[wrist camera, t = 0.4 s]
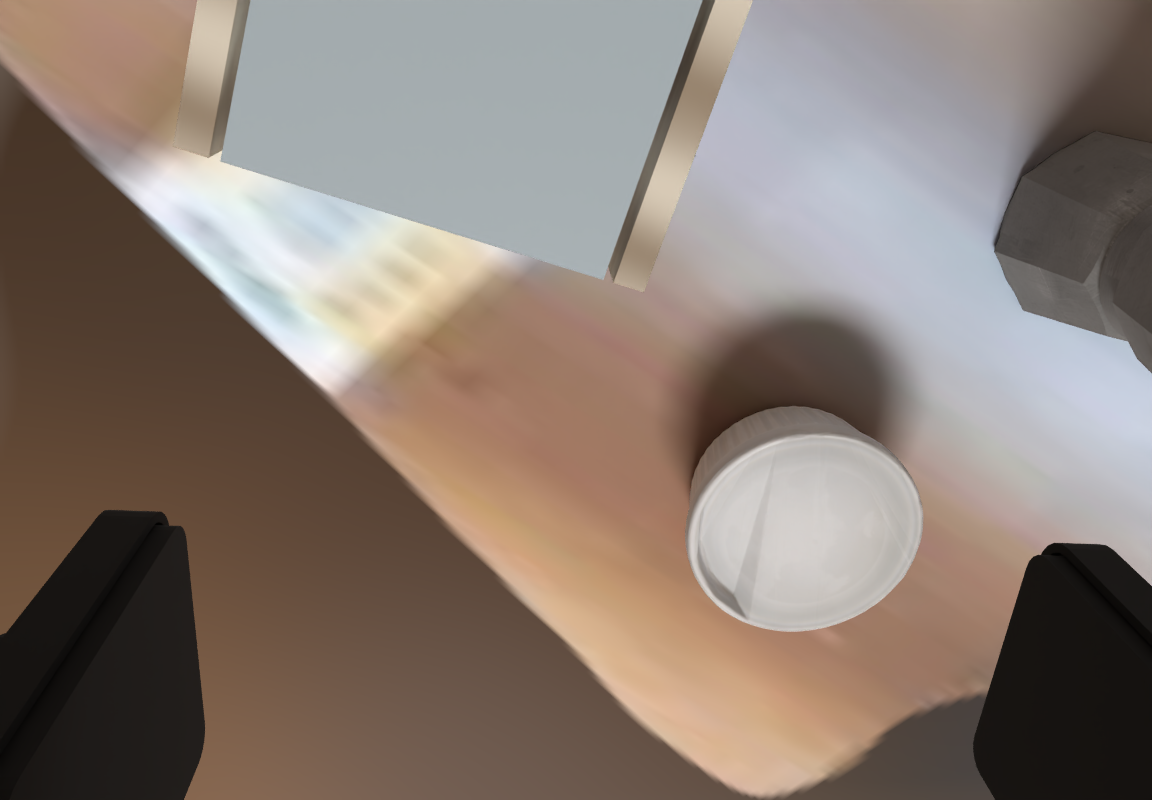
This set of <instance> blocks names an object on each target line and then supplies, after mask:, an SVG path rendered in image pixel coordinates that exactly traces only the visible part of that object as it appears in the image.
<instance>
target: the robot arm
mask: <svg viewBox="0 0 1152 800" xmlns="http://www.w3.org/2000/svg"><path fill="white" fill-rule="evenodd" d="M194 621H195V620H194V611H193V601H192V591H191V581H190V571H189V561H188V551H187V541H186V536H185V532H184V529H183V528H182V527H181V526H169V523H168V520H167V518H166V516H165V514H163V513H162V512H154V511H153V512H152V511H151V512H150V511H124V510H105V511H103V512H102V513H101V514H100V515H99V516H98V517H97V518H96V519H95V521H94V522H93V524H92V525H91V526H90V527H89V529H88V530H87V531H86V532H85V533H84V535H83V536H82V537H81V539H80V540H79V541H78V542H77V544H76V545H75V546H74V548H73V549H72V550H71V551H70V553H69V554H68V555H67V557H66V558H65V559H64V560H63V561H62V563H61V564H60V565H59V567H58V568H57V569H56V570H55V572H54V573H53V574H52V575H51V577H50V578H49V579H48V581H47V582H46V583H45V584H44V586H43V587H42V588H41V590H40V591H39V592H38V594H37V595H36V596H35V597H34V598H33V600H32V601H31V602H30V604H29V605H28V606H27V607H26V609H25V610H24V611H23V613H22V614H21V615H20V616H19V617H18V619H17V620H16V621H15V623H14V624H13V625H12V626H11V628H10V629H9V630H8V631H7V633H5V634H2V635H0V800H184V798H185V796H186V793H187V791H188V788H189V786H190V783H191V780H192V778H193V776H194V773H195V771H196V768H197V766H198V764H199V761H200V758H201V754H202V750H203V744H204V737H205V720H204V710H203V700H202V691H201V680H200V670H199V660H198V650H197V640H196V630H195V622H194ZM973 745H974V746H973V750H974V758H975V762H976V766H977V768H978V771H979V773H980V775H981V776H982V778H983V780H984V781H985V783H986V785H987V787H988V788H989V790H990V791H991V793H992V795H993V797H994V798H995V800H1152V586H1151V585H1150V584H1149V583H1148V582H1147V581H1146V580H1145V579H1144V578H1142V577H1141V576H1140V575H1139V574H1138V573H1137V572H1136V571H1135V570H1134V569H1133V568H1132V567H1131V566H1130V565H1129V564H1128V563H1127V562H1126V561H1124V560H1123V559H1122V558H1121V557H1120V556H1119V555H1118V554H1117V553H1116V552H1115V551H1114V550H1112V549H1111V548H1109V547H1108V546H1106V545H1100V544H1073V543H1053V544H1051V545H1048V546H1047V547H1046V548H1045V549H1044V551H1043V552H1042V554H1041V555H1037V556H1034V557H1033V558H1032V559H1031V560H1030V561H1029V563H1028V565H1027V568H1026V571H1025V574H1024V577H1023V581H1022V584H1021V587H1020V590H1019V594H1018V597H1017V600H1016V603H1015V607H1014V610H1013V613H1012V616H1011V620H1010V623H1009V626H1008V629H1007V633H1006V636H1005V639H1004V642H1003V645H1002V649H1001V652H1000V655H999V658H998V662H997V665H996V668H995V671H994V675H993V678H992V681H991V684H990V688H989V691H988V694H987V697H986V701H985V704H984V707H983V710H982V714H981V717H980V720H979V723H978V727H977V730H976V733H975V737H974V742H973Z"/></svg>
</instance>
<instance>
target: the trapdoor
mask: <svg viewBox="0 0 1152 800" xmlns="http://www.w3.org/2000/svg"><path fill="white" fill-rule="evenodd" d="M702 1H703V0H250V5H249V11H248V16H247V21H246V27H245V32H244V38H243V43H242V48H241V54H240V59H239V64H238V70H237V75H236V81H235V86H234V91H233V97H232V102H231V107H230V113H229V118H228V123H227V129H226V134H225V140H224V145H223V150H222V156H221V162H224V163H227V164H230V165H234V166H237V167H240V168H243V169H246V170H250V171H253V172H256V173H259V174H263V175H266V176H269V177H272V178H276V179H279V180H282V181H285V182H289V183H292V184H295V185H298V186H301V187H305V188H308V189H311V190H314V191H318V192H321V193H324V194H327V195H331V196H334V197H337V198H340V199H343V200H347V201H350V202H353V203H356V204H360V205H363V206H366V207H369V208H373V209H376V210H379V211H382V212H386V213H389V214H392V215H395V216H398V217H402V218H405V219H408V220H411V221H415V222H418V223H421V224H424V225H428V226H431V227H434V228H437V229H440V230H444V231H447V232H450V233H453V234H457V235H460V236H463V237H466V238H470V239H473V240H476V241H479V242H483V243H486V244H489V245H492V246H495V247H499V248H502V249H505V250H508V251H512V252H515V253H518V254H521V255H525V256H528V257H531V258H534V259H537V260H541V261H544V262H547V263H550V264H554V265H557V266H560V267H563V268H567V269H570V270H573V271H576V272H580V273H583V274H586V275H589V276H592V277H596V278H599V279H602V280H603V279H604V276H605V274H606V271H607V268H608V265H609V262H610V260H611V257H612V254H613V251H614V248H615V246H616V243H617V240H618V237H619V234H620V231H621V229H622V226H623V223H624V220H625V217H626V215H627V212H628V209H629V206H630V203H631V201H632V198H633V195H634V192H635V189H636V186H637V184H638V181H639V178H640V175H641V172H642V170H643V167H644V164H645V161H646V158H647V156H648V153H649V150H650V147H651V144H652V141H653V139H654V136H655V133H656V130H657V127H658V125H659V122H660V119H661V116H662V113H663V110H664V108H665V105H666V102H667V99H668V96H669V94H670V91H671V88H672V85H673V82H674V80H675V77H676V74H677V71H678V68H679V65H680V63H681V60H682V57H683V54H684V51H685V49H686V46H687V43H688V40H689V37H690V35H691V32H692V29H693V26H694V23H695V20H696V18H697V15H698V12H699V9H700V6H701V4H702Z"/></svg>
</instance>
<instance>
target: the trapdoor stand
mask: <svg viewBox="0 0 1152 800" xmlns="http://www.w3.org/2000/svg"><path fill="white" fill-rule="evenodd" d="M752 2H753V0H703V1H702V4H701V6H700V9H699V12H698V15H697V18H696V20H695V23H694V26H693V29H692V32H691V35H690V37H689V40H688V43H687V46H686V49H685V51H684V54H683V57H682V60H681V63H680V65H679V68H678V71H677V74H676V77H675V80H674V82H673V85H672V88H671V91H670V94H669V96H668V99H667V102H666V105H665V108H664V110H663V113H662V116H661V119H660V122H659V125H658V127H657V130H656V133H655V136H654V139H653V141H652V144H651V147H650V150H649V153H648V156H647V158H646V161H645V164H644V167H643V170H642V172H641V175H640V178H639V181H638V184H637V186H636V189H635V192H634V195H633V198H632V201H631V203H630V206H629V209H628V212H627V215H626V217H625V220H624V223H623V226H622V229H621V231H620V234H619V237H618V240H617V243H616V246H615V248H614V251H613V254H612V257H611V260H610V262H609V265H608V267H609V271H610V274H611V277H612V280H613V283H615V284H618V285H622V286H625V287H628V288H631V289H634V290H638V291H641V292H644V290H645V287H646V285H647V282H648V279H649V277H650V274H651V271H652V269H653V266H654V263H655V261H656V258H657V255H658V253H659V250H660V247H661V245H662V242H663V239H664V237H665V234H666V231H667V229H668V226H669V223H670V221H671V218H672V215H673V213H674V210H675V207H676V205H677V202H678V199H679V197H680V194H681V191H682V189H683V186H684V183H685V181H686V178H687V175H688V173H689V170H690V167H691V165H692V162H693V159H694V157H695V154H696V151H697V149H698V146H699V143H700V140H701V138H702V135H703V132H704V130H705V127H706V124H707V122H708V119H709V116H710V114H711V111H712V108H713V106H714V103H715V100H716V98H717V95H718V92H719V90H720V87H721V84H722V82H723V79H724V76H725V74H726V71H727V68H728V66H729V63H730V60H731V58H732V55H733V52H734V50H735V47H736V44H737V42H738V39H739V36H740V34H741V31H742V28H743V26H744V23H745V20H746V18H747V15H748V12H749V10H750V7H751V4H752ZM249 5H250V0H197V5H196V11H195V17H194V23H193V29H192V35H191V41H190V47H189V53H188V59H187V65H186V71H185V77H184V83H183V89H182V95H181V101H180V107H179V113H178V119H177V125H176V131H175V137H174V143H173V147H175V148H179V149H182V150H185V151H188V152H192V153H195V154H198V155H201V156H204V157H208V158H209V157H211V156H213V155H214V154H216V153H218V152H220V151H221V150H223V145H224V140H225V134H226V129H227V123H228V118H229V113H230V107H231V102H232V97H233V91H234V86H235V81H236V75H237V70H238V64H239V59H240V54H241V48H242V43H243V38H244V32H245V27H246V21H247V16H248V11H249Z"/></svg>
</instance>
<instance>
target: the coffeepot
mask: <svg viewBox="0 0 1152 800" xmlns="http://www.w3.org/2000/svg"><path fill="white" fill-rule="evenodd" d="M994 252H995V254H996V256H997V258H998V260H999V262H1000V264H1001V267H1002V270H1003V272H1004V275H1005V278H1006V280H1007V282H1008V283H1009V285H1010V286H1011V288H1012V289H1013V291H1014V293H1015V295H1016V297H1017V299H1018V301H1019V303H1020V305H1021V307H1022V309H1023V311H1027V312H1030V313H1033V314H1036V315H1040V316H1043V317H1046V318H1050V319H1053V320H1056V321H1059V322H1063V323H1066V324H1069V325H1072V326H1076V327H1079V328H1082V329H1085V330H1089V331H1092V332H1095V333H1098V334H1102V335H1105V336H1109V337H1113V338H1116V339H1120V340H1124V341H1128V342H1129V344H1130V346H1131V348H1132V350H1133V352H1134V354H1135V355H1136V357H1137V359H1138V360H1139V361H1140V362H1141V363H1142V364H1143V365H1144V366H1145V367H1146V368H1147V369H1148V370H1149V371H1150V372H1151V373H1152V143H1149V142H1144V141H1139V140H1135V139H1130V138H1125V137H1120V136H1116V135H1111V134H1106V133H1102V132H1097V131H1094V132H1093V133H1091V134H1089V135H1087V136H1086V137H1084V138H1082V139H1080V140H1078V141H1077V142H1075V143H1073V144H1071V145H1069V146H1067V147H1065V148H1063V149H1062V150H1060V151H1058V152H1056V153H1054V154H1053V155H1051V156H1050V157H1049V158H1047V159H1046V160H1045V161H1043V162H1042V163H1041V164H1039V165H1038V166H1037V167H1036V168H1035V169H1033V170H1032V171H1030V172H1029V173H1027V174H1025V175H1024V176H1022V178H1021V181H1020V183H1019V185H1018V187H1017V189H1016V191H1015V193H1014V195H1013V197H1012V200H1011V202H1010V204H1009V206H1008V208H1007V210H1006V212H1005V215H1004V219H1003V222H1002V226H1001V229H1000V237H999V240H998V242H997V245H996V248H995V250H994Z"/></svg>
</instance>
